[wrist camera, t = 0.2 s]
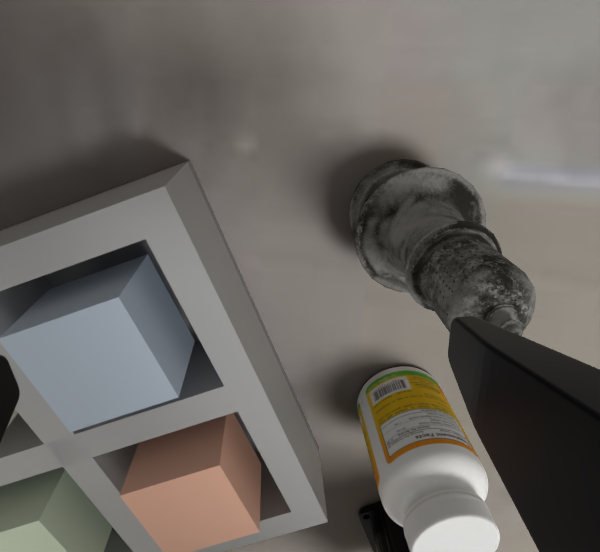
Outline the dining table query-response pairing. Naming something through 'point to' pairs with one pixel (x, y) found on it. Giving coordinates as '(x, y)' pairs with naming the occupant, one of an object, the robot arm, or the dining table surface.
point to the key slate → (103, 344)
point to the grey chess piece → (437, 245)
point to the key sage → (50, 516)
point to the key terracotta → (196, 486)
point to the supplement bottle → (425, 464)
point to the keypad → (201, 368)
